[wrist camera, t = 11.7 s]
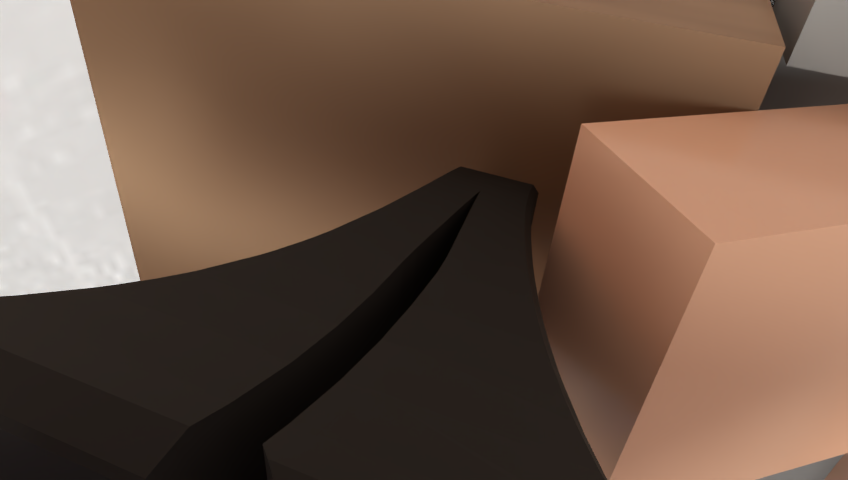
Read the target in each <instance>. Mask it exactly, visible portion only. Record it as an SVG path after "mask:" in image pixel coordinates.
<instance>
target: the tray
mask: <svg viewBox="0 0 848 480" xmlns="http://www.w3.org/2000/svg"><path fill="white" fill-rule="evenodd" d="M773 11H774V14H775V17H776V20H777V23H778V26H779V29H780V32H781V35H782V38H783V41H784V44H785V47H786V48H785V50H784V52H783V55H782V57H781V59H780V62H779V64H778V66H777V68H776V71H775V73H774V75H773V78H772V80H771V82H770V85H769V87H768V89H767V91H766V94H765V96H764V98H763V101H762V103H761V105H760V108H759V110H772V109H786V108H799V107H813V106H826V105H840V104H848V0H776V1H775V4H774V6H773ZM759 110H758V111H759ZM843 455H844V454H842V455H839V456H835V457H832V458H829V459H825V460H822V461H818V462H815V463H811V464H808V465H804V466H801V467H798V468H794V469H791V470H787V471H784V472H780V473H777V474H773V475H770V476H767V477H763V478H760V479H756V480H824V479H825V478H826V477H827V475H828V474H829V473H830V472H831V470H832V469H833V468H834V467H835V465H836V464H837V463H838V462H839V460H840V459H841V458H842V456H843Z"/></svg>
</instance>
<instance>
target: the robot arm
mask: <svg viewBox="0 0 848 480" xmlns="http://www.w3.org/2000/svg"><path fill="white" fill-rule="evenodd" d="M538 194H539V193H538V191H537V190H536V188H535V187H534V185H532V184H528V183H524V182H520V181H517V180H513V179H509V178H505V177H501V176H497V175H493V174H489V173H485V172H481V171H477V170H474V169H470V168H466V167H462V166H460V167H458V168H456V169H454V170H452V171H450V172H448V173H446V174H444V175H443V176H441V177H439V178H437V179H435V180H433V181H432V182H430V183H428V184H426V185H424V186H422V187H421V188H419V189H417V190H415V191H413V192H411V193H409V194H407V195H405V196H403V197H401V198H400V199H398V200H396V201H394V202H392V203H390V204H388V205H386V206H384V207H382V208H380V209H378V210H376V211H373V212H371V213H369V214H367V215H364V216H362V217H360V218H358V219H355V220H353V221H351V222H349V223H346V224H344V225H342V226H340V227H338V228H335V229H333V230H331V231H328V232H326V233H323V234H320V235H318V236H315V237H312V238H310V239H307V240H304V241H301V242H298V243H295V244H292V245H289V246H286V247H283V248H280V249H277V250H274V251H271V252H268V253H264V254H261V255H257V256H253V257H249V258H245V259H241V260H237V261H233V262H229V263H225V264H221V265H217V266H213V267H209V268H206V269H202V270H197V271H192V272H188V273H182V274H177V275H172V276H167V277H161V278H156V279H150V280H143V281H137V282H131V283H125V284H118V285H111V286H103V287H96V288H87V289H77V290H67V291H57V292H47V293H37V294H27V295H17V296H3V297H0V480H607V478H606V476H605V474H604V472H603V470H602V468H601V466H600V464H599V462H598V460H597V458H596V456H595V454H594V452H593V450H592V448H591V446H590V444H589V442H588V440H587V438H586V436H585V434H584V432H583V429H582V427H581V425H580V422H579V420H578V417H577V415H576V413H575V410H574V408H573V405H572V403H571V401H570V398H569V396H568V393H567V391H566V389H565V386H564V384H563V382H562V379H561V376H560V374H559V371H558V368H557V365H556V362H555V359H554V356H553V353H552V350H551V347H550V343H549V340H548V336H547V333H546V329H545V326H544V322H543V317H542V313H541V309H540V304H539V299H538V294H537V288H536V282H535V276H534V268H533V258H532V244H531V225H532V221H533V216H534V212H535V207H536V203H537V198H538Z"/></svg>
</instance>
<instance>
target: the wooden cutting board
mask: <svg viewBox="0 0 848 480" xmlns="http://www.w3.org/2000/svg"><path fill="white" fill-rule="evenodd" d="M70 2H71V6H72V10H73V14H74V18H75V22H76V26H77V30H78V34H79V38H80V42H81V46H82V50H83V53H84V57H85V61H86V65H87V69H88V73H89V77H90V81H91V85H92V89H93V93H94V97H95V101H96V105H97V109H98V113H99V117H100V121H101V125H102V129H103V133H104V137H105V141H106V145H107V149H108V153H109V157H110V161H111V165H112V169H113V173H114V177H115V181H116V185H117V189H118V193H119V197H120V201H121V205H122V209H123V213H124V217H125V221H126V225H127V229H128V233H129V237H130V241H131V245H132V249H133V253H134V257H135V261H136V265H137V269H138V273H139V277H140V281H143V280H150V279H156V278H161V277H167V276H172V275H177V274H182V273H188V272H192V271H197V270H202V269H206V268H209V267H213V266H217V265H221V264H225V263H229V262H233V261H237V260H241V259H245V258H249V257H253V256H257V255H261V254H264V253H268V252H271V251H274V250H277V249H280V248H283V247H286V246H289V245H292V244H295V243H298V242H301V241H304V240H307V239H310V238H312V237H315V236H318V235H320V234H323V233H326V232H328V231H331V230H333V229H335V228H338V227H340V226H342V225H344V224H346V223H349V222H351V221H353V220H355V219H358V218H360V217H362V216H364V215H367V214H369V213H371V212H373V211H376V210H378V209H380V208H382V207H384V206H386V205H388V204H390V203H392V202H394V201H396V200H398V199H400V198H401V197H403V196H405V195H407V194H409V193H411V192H413V191H415V190H417V189H419V188H421V187H422V186H424V185H426V184H428V183H430V182H432V181H433V180H435V179H437V178H439V177H441V176H443V175H444V174H446V173H448V172H450V171H452V170H454V169H456V168H458V167H460V166H462V167H466V168H470V169H474V170H477V171H481V172H485V173H489V174H493V175H497V176H501V177H505V178H509V179H513V180H517V181H520V182H524V183H528V184H532V185H534V187H535V188H536V190H537V191H538V193H539V194H538V198H537V203H536V207H535V212H534V216H533V221H532V225H531V244H532V258H533V268H534V276H535V282H536V288H537V294H538V295H539V291H540V287H541V283H542V279H543V275H544V271H545V267H546V263H547V259H548V255H549V251H550V247H551V243H552V239H553V235H554V231H555V227H556V223H557V219H558V215H559V211H560V207H561V203H562V199H563V195H564V191H565V187H566V183H567V179H568V175H569V171H570V167H571V163H572V159H573V155H574V151H575V147H576V143H577V139H578V135H579V131H580V127H581V124H583V123H597V122H610V121H624V120H637V119H651V118H664V117H678V116H691V115H705V114H718V113H732V112H745V111H758V110H759V108H760V105H761V103H762V101H763V98H764V96H765V94H766V91H767V89H768V87H769V85H770V82H771V80H772V78H773V75H774V73H775V71H776V68H777V66H778V64H779V62H780V59H781V57H782V55H783V52H784V50H785V48H786V47H785V44H784V41H783V38H782V35H781V32H780V29H779V26H778V23H777V20H776V17H775V14H774V11H773V8H772V5H771V2H770V0H70Z"/></svg>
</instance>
